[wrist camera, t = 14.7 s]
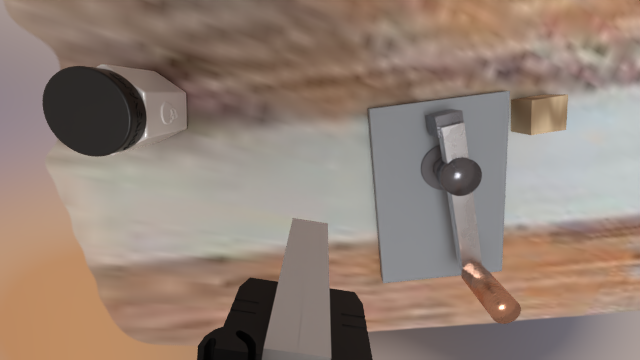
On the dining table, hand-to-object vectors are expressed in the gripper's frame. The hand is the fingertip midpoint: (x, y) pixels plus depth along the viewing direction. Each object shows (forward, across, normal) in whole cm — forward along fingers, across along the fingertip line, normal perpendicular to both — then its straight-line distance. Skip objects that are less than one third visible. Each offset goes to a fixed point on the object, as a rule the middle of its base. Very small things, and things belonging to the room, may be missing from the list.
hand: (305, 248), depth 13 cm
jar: (+28, -21, 0) cm, 35 cm away
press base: (+28, +18, -5) cm, 33 cm away
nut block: (+26, +24, +7) cm, 36 cm away
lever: (+25, +18, -4) cm, 32 cm away
